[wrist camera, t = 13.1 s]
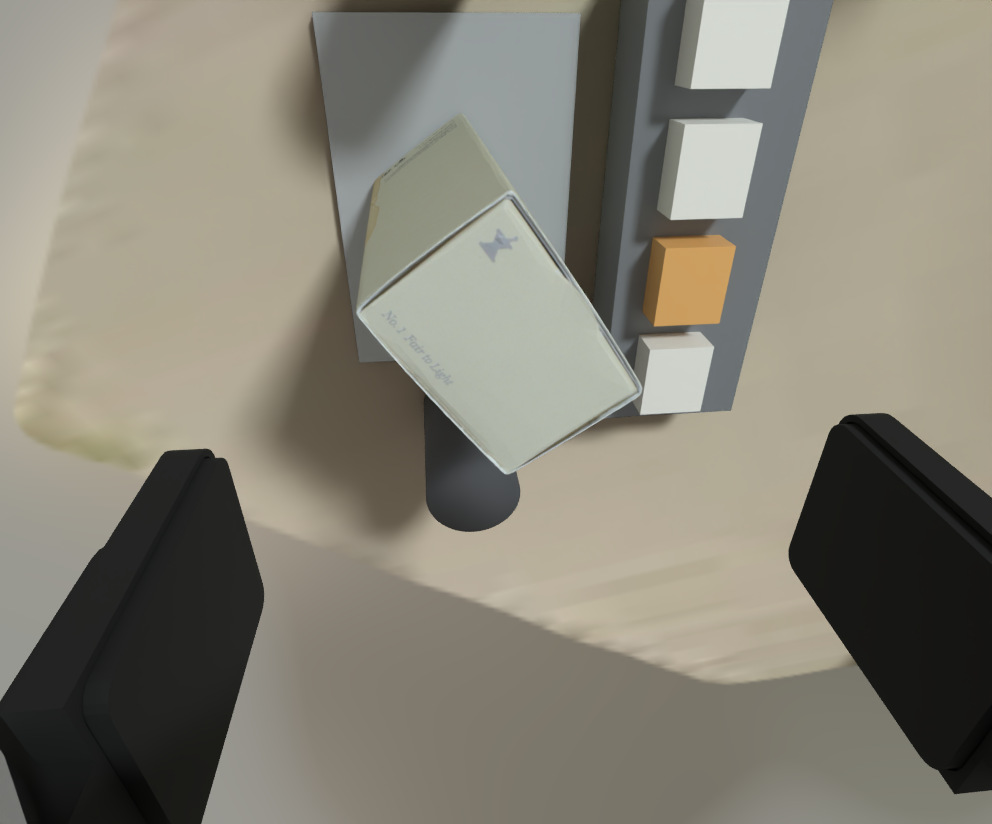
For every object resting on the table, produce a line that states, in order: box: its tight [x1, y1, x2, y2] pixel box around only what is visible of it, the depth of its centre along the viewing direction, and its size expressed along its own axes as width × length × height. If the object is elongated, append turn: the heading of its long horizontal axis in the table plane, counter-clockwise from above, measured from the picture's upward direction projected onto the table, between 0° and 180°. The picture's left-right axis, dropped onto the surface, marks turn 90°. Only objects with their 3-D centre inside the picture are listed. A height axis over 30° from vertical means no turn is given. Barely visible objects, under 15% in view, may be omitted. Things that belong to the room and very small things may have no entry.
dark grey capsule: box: [424, 395, 520, 532], centre depth 26 cm, size 4×4×7 cm
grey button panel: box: [312, 0, 833, 418], centre depth 23 cm, size 16×17×4 cm
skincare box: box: [355, 113, 643, 475], centre depth 19 cm, size 6×4×12 cm
